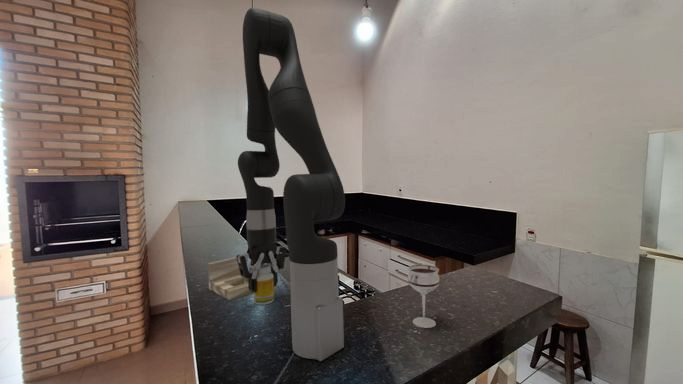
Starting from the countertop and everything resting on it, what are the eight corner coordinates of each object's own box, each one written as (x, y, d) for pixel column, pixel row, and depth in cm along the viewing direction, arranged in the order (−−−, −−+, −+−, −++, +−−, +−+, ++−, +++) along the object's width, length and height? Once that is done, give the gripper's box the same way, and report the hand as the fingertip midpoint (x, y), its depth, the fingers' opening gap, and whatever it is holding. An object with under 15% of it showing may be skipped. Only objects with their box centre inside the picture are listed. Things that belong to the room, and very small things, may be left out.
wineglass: (431, 314, 70) (430, 263, 69) (446, 328, 63) (445, 272, 62) (403, 317, 68) (402, 265, 68) (416, 331, 62) (415, 274, 61)
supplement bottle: (250, 301, 80) (249, 266, 80) (269, 295, 84) (267, 262, 83) (259, 307, 76) (257, 270, 76) (278, 301, 79) (276, 266, 79)
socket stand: (267, 288, 90) (266, 262, 89) (229, 300, 81) (228, 271, 81) (245, 278, 99) (244, 255, 99) (208, 289, 90) (207, 263, 90)
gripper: (243, 231, 71) (246, 300, 72) (291, 224, 82) (293, 284, 82) (229, 228, 77) (231, 293, 77) (276, 221, 87) (278, 279, 87)
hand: (263, 288), depth 80 cm, fingers closed on supplement bottle, 5 cm apart
